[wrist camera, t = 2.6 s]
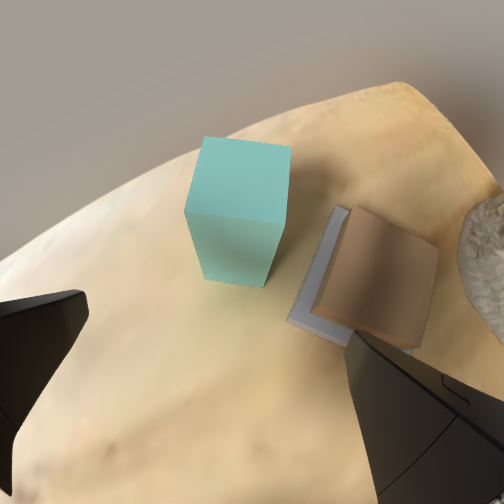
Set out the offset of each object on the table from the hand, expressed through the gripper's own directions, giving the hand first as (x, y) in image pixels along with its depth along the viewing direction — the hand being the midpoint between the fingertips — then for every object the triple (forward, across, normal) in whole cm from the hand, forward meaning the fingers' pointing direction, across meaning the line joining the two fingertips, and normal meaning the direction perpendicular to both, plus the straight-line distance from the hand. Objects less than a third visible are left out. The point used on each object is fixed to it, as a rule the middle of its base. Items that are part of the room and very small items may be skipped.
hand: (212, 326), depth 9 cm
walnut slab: (+12, +11, -4) cm, 17 cm away
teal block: (+15, 0, -4) cm, 15 cm away
